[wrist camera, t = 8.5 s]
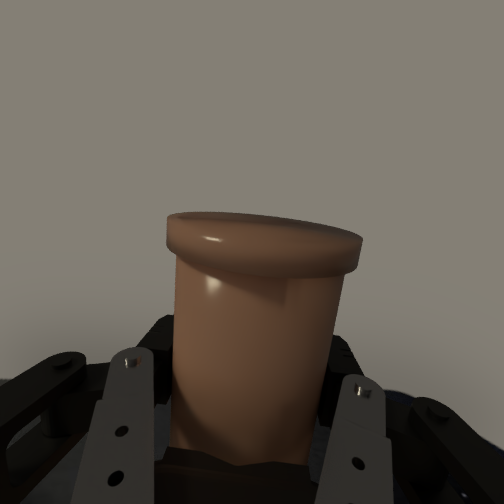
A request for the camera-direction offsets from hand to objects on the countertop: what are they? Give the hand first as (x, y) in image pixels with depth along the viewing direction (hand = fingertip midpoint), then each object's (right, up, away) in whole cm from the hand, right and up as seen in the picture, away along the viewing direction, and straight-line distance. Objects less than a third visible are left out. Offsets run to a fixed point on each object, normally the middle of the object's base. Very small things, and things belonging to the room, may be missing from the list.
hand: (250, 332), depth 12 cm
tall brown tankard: (-1, -9, 0) cm, 9 cm away
